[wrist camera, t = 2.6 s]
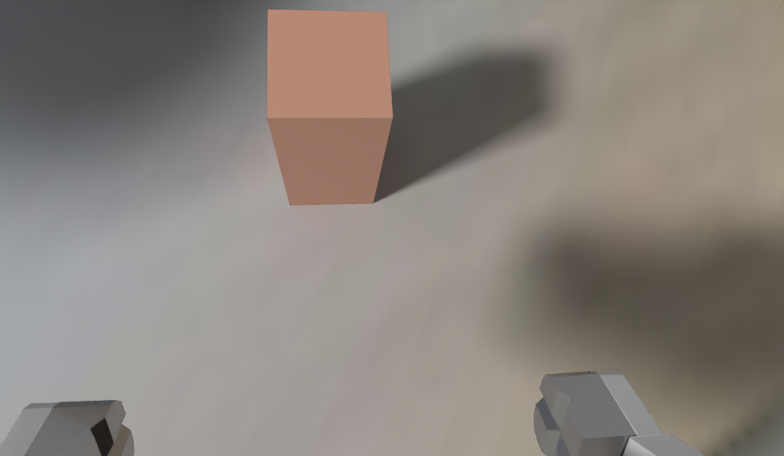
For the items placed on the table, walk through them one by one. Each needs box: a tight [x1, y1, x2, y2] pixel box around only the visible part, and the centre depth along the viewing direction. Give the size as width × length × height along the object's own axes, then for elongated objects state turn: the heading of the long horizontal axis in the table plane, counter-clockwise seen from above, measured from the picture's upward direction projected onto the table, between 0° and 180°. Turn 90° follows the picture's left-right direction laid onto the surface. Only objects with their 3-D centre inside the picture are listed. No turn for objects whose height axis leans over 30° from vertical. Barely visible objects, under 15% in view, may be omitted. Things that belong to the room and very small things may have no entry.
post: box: [267, 9, 393, 205], centre depth 22 cm, size 4×4×9 cm
